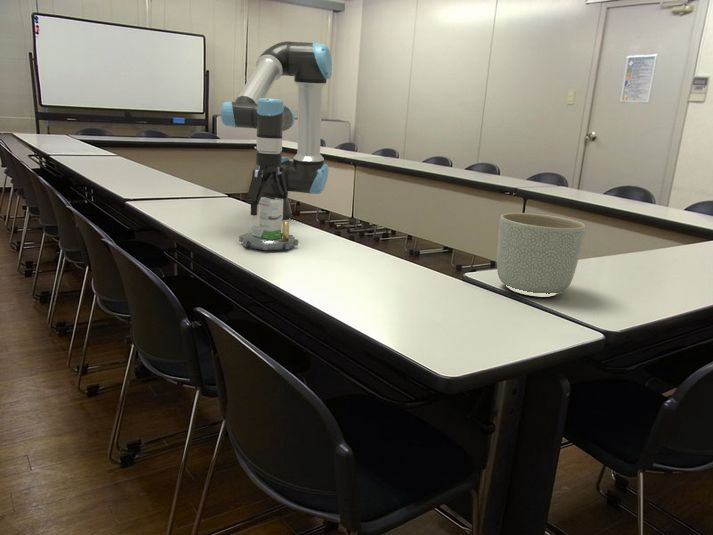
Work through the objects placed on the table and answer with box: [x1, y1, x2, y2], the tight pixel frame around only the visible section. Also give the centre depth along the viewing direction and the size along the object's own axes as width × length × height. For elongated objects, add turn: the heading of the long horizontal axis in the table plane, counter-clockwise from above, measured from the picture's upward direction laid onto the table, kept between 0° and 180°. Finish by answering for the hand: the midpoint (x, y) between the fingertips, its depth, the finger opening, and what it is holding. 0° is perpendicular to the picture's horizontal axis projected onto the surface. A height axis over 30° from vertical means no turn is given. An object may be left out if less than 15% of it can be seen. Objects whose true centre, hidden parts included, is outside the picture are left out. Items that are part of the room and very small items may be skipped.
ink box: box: [251, 197, 282, 240], centre depth 176 cm, size 9×5×12 cm, turn 52°
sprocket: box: [238, 220, 299, 251], centre depth 177 cm, size 18×18×8 cm
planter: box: [496, 212, 587, 294], centre depth 148 cm, size 21×21×19 cm
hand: (267, 222), depth 177 cm, fingers open, 13 cm apart
